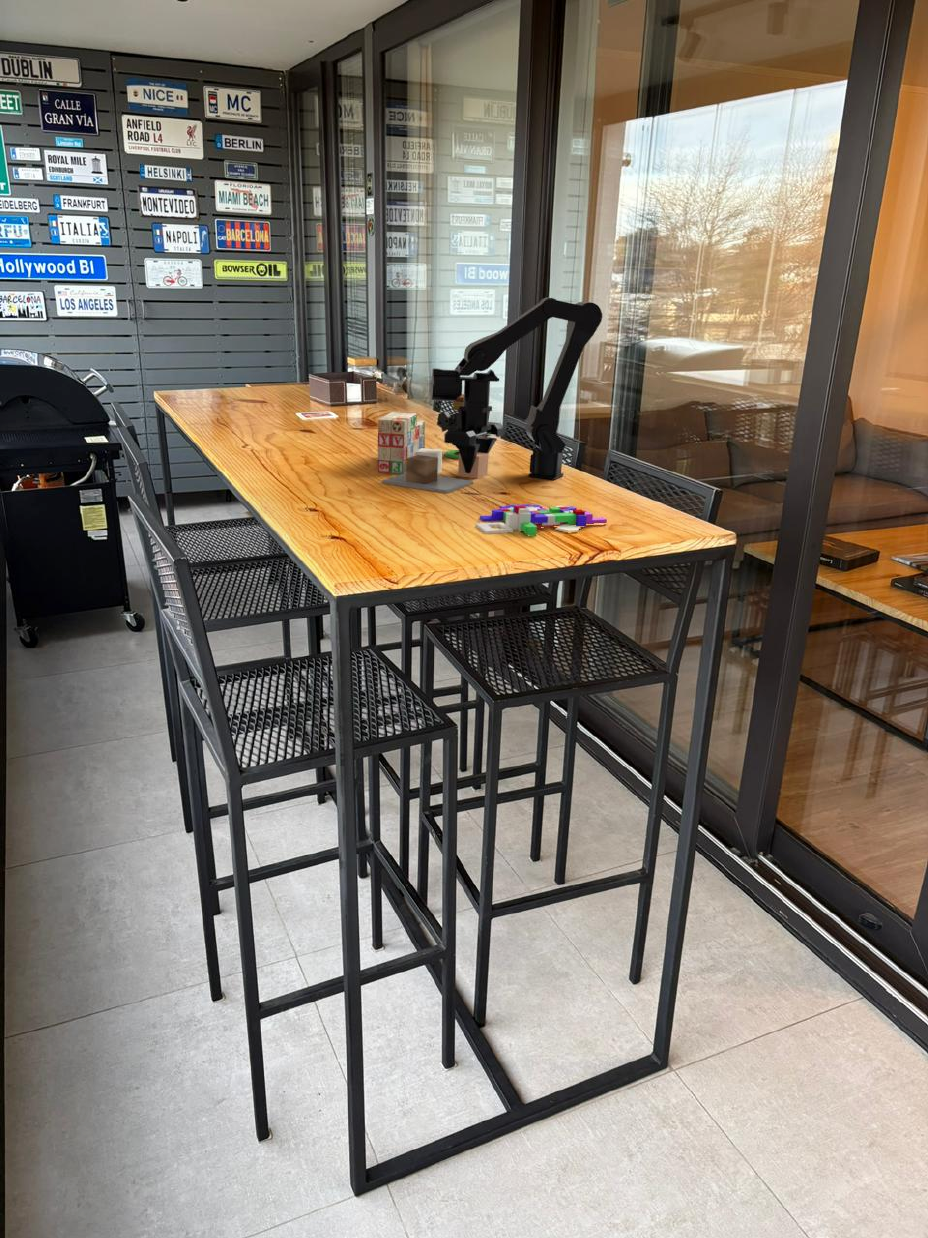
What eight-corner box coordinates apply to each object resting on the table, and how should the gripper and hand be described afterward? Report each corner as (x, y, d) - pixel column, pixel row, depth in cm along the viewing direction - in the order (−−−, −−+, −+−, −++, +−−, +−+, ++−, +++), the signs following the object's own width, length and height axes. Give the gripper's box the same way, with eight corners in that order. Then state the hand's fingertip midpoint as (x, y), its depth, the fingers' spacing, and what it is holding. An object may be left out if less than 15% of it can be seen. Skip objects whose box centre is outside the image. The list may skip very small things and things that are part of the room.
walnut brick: (437, 480, 197) (437, 457, 196) (425, 484, 193) (426, 460, 191) (417, 477, 199) (417, 454, 198) (405, 481, 195) (406, 458, 193)
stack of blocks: (400, 456, 226) (401, 406, 221) (424, 458, 225) (426, 408, 220) (377, 472, 206) (377, 418, 202) (403, 475, 205) (404, 420, 201)
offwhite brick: (441, 471, 210) (442, 449, 209) (436, 475, 206) (437, 453, 204) (420, 469, 211) (421, 448, 210) (415, 473, 207) (415, 451, 205)
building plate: (472, 483, 199) (472, 480, 198) (447, 493, 189) (447, 490, 188) (410, 474, 205) (410, 471, 205) (381, 483, 195) (381, 480, 195)
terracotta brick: (487, 475, 208) (488, 453, 206) (477, 478, 204) (478, 456, 202) (468, 472, 210) (469, 450, 208) (458, 475, 206) (459, 453, 204)
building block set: (570, 507, 183) (571, 486, 182) (618, 534, 165) (621, 510, 164) (453, 513, 175) (454, 490, 174) (491, 541, 157) (492, 516, 156)
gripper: (463, 394, 212) (460, 460, 218) (424, 401, 197) (422, 472, 202) (506, 398, 208) (502, 466, 213) (469, 406, 192) (466, 479, 197)
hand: (473, 470), depth 207 cm, fingers closed on terracotta brick, 5 cm apart
